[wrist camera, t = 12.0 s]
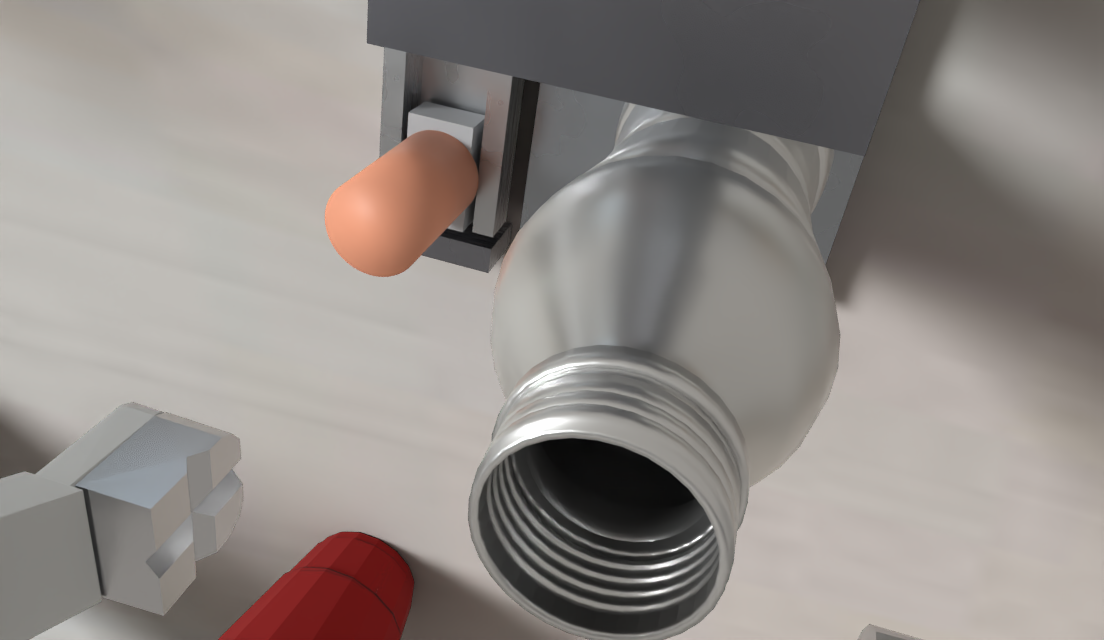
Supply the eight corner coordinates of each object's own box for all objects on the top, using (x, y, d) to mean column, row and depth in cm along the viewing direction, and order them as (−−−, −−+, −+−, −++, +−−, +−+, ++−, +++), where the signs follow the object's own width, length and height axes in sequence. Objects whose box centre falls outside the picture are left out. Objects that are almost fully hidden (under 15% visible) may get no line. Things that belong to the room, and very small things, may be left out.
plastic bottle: (647, 225, 31) (434, 698, 14) (619, 30, 28) (304, 327, 11) (837, 211, 29) (861, 747, 12) (829, -2, 26) (846, 306, 9)
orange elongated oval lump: (486, 219, 33) (416, 298, 27) (408, 199, 33) (324, 273, 28) (498, 118, 31) (425, 181, 25) (415, 98, 31) (325, 156, 26)
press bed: (811, 286, 32) (799, 835, 14) (530, 215, 34) (213, 628, 16) (996, -240, 23) (1526, -479, 6) (606, -300, 25) (101, -625, 7)
